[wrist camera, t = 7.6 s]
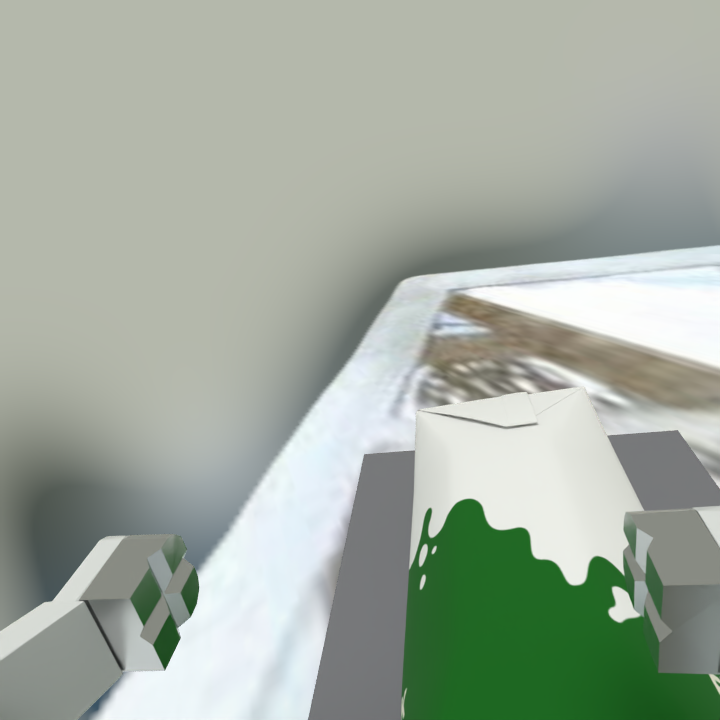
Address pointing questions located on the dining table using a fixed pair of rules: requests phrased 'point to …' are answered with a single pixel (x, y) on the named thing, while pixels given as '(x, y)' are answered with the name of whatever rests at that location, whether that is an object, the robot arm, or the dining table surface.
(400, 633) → the mat
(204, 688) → the dining table surface
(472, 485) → the soya milk
